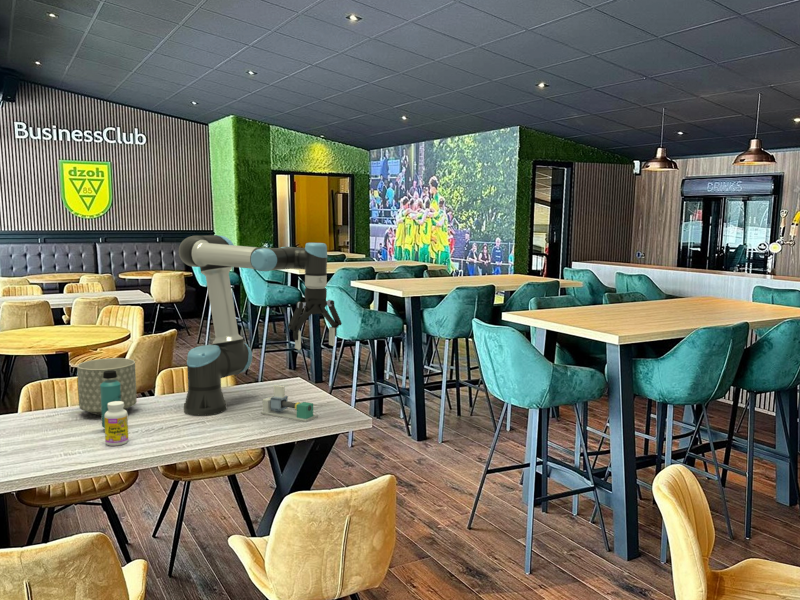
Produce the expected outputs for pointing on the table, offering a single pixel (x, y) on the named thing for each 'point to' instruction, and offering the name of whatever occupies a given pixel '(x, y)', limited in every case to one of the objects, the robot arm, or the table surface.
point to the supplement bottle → (116, 424)
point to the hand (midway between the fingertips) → (315, 347)
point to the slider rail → (302, 413)
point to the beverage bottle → (109, 392)
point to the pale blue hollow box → (278, 398)
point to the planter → (93, 378)
